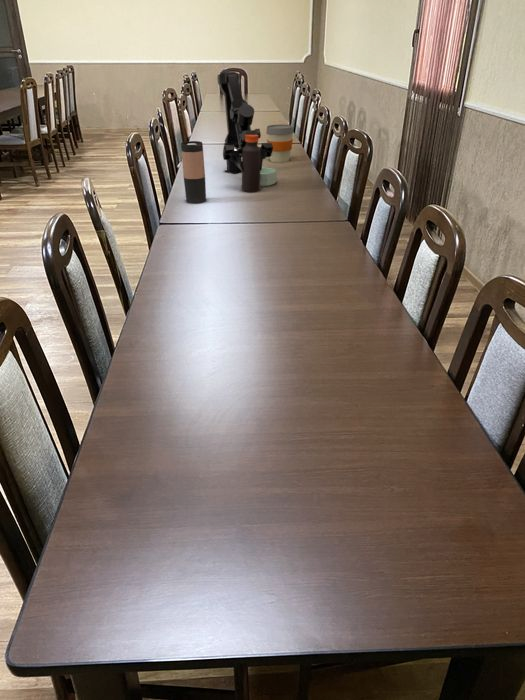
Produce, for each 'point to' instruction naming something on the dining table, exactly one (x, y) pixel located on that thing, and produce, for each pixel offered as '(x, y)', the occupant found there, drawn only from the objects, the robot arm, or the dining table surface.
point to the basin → (267, 176)
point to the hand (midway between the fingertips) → (251, 170)
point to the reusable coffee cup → (280, 141)
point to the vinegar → (251, 164)
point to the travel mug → (193, 171)
